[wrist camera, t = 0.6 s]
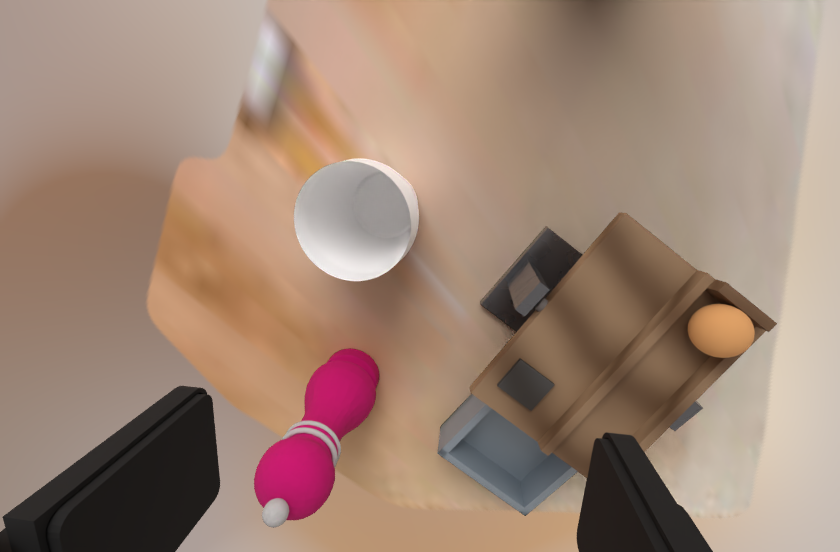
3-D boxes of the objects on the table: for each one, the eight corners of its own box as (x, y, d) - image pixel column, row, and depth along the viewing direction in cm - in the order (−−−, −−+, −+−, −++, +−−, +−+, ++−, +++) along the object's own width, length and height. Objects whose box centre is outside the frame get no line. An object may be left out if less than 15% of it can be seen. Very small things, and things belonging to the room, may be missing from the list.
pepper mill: (315, 385, 47) (210, 539, 28) (332, 334, 45) (231, 463, 26) (372, 408, 47) (305, 578, 28) (392, 358, 45) (334, 505, 26)
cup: (368, 140, 38) (325, 132, 27) (447, 190, 39) (437, 203, 27) (327, 219, 41) (272, 242, 30) (401, 265, 42) (375, 305, 30)
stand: (546, 226, 39) (566, 244, 30) (687, 337, 40) (742, 383, 32) (480, 301, 42) (482, 336, 33) (614, 402, 43) (647, 459, 35)
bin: (514, 349, 43) (518, 370, 38) (599, 413, 44) (613, 441, 39) (440, 426, 47) (437, 453, 42) (520, 483, 47) (525, 516, 43)
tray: (615, 209, 32) (637, 210, 28) (752, 319, 33) (789, 334, 29) (466, 383, 35) (469, 404, 31) (594, 478, 36) (611, 508, 33)
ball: (698, 290, 31) (739, 297, 28) (735, 319, 32) (781, 331, 28) (665, 329, 32) (702, 342, 28) (702, 359, 32) (744, 376, 28)
